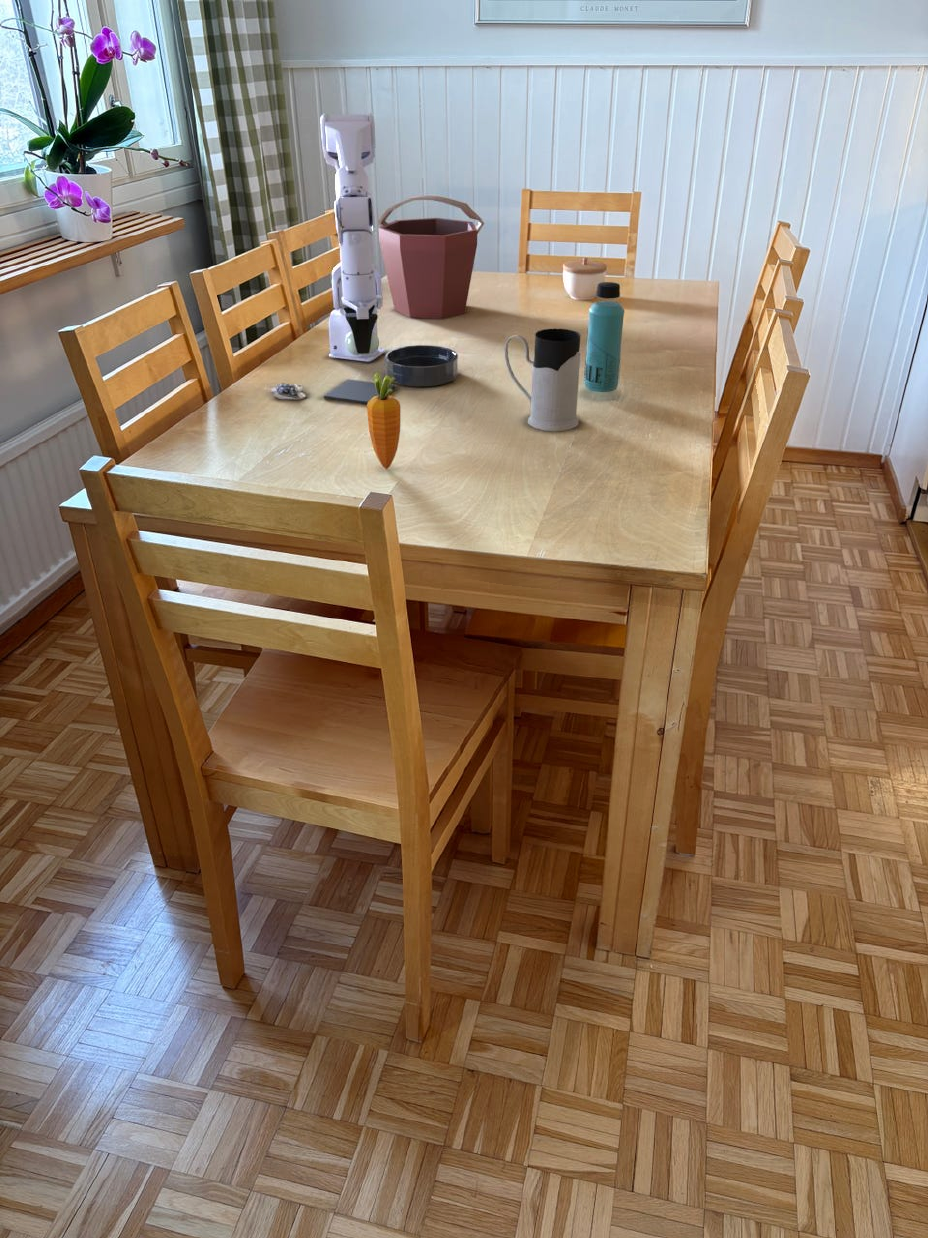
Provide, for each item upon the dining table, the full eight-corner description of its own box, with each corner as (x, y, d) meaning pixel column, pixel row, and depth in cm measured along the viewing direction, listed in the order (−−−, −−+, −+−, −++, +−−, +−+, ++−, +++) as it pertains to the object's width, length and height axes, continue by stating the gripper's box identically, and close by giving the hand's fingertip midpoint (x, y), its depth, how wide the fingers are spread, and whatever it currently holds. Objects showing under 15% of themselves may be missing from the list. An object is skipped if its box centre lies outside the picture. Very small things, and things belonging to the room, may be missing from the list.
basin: (374, 383, 179) (372, 362, 177) (403, 361, 190) (402, 342, 188) (442, 391, 175) (441, 370, 173) (468, 369, 186) (468, 349, 184)
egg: (346, 358, 169) (344, 334, 166) (345, 351, 172) (343, 327, 170) (380, 357, 170) (379, 332, 167) (378, 350, 173) (377, 326, 171)
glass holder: (564, 434, 157) (569, 345, 149) (491, 418, 163) (492, 331, 155) (587, 418, 163) (593, 332, 155) (515, 403, 169) (518, 319, 161)
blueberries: (292, 384, 178) (291, 374, 177) (317, 394, 173) (317, 384, 172) (262, 392, 174) (261, 382, 173) (287, 403, 169) (286, 393, 168)
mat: (323, 398, 172) (323, 395, 171) (348, 381, 180) (348, 379, 179) (373, 405, 169) (373, 402, 168) (395, 387, 177) (395, 385, 176)
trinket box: (562, 291, 239) (564, 252, 234) (604, 292, 238) (607, 253, 233) (560, 301, 230) (562, 261, 225) (604, 303, 229) (607, 263, 224)
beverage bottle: (620, 390, 175) (631, 280, 165) (613, 402, 170) (624, 288, 159) (586, 386, 177) (594, 277, 166) (578, 398, 172) (586, 285, 161)
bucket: (498, 306, 226) (500, 194, 212) (447, 328, 210) (446, 208, 197) (414, 293, 237) (411, 185, 223) (361, 313, 221) (354, 198, 208)
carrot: (370, 462, 147) (365, 368, 139) (402, 461, 147) (398, 367, 139) (370, 475, 143) (365, 379, 135) (403, 474, 143) (399, 378, 135)
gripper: (384, 280, 158) (388, 359, 165) (376, 261, 170) (380, 336, 177) (342, 281, 157) (348, 361, 164) (337, 262, 169) (343, 338, 176)
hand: (362, 349), depth 170 cm, fingers closed on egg, 4 cm apart
